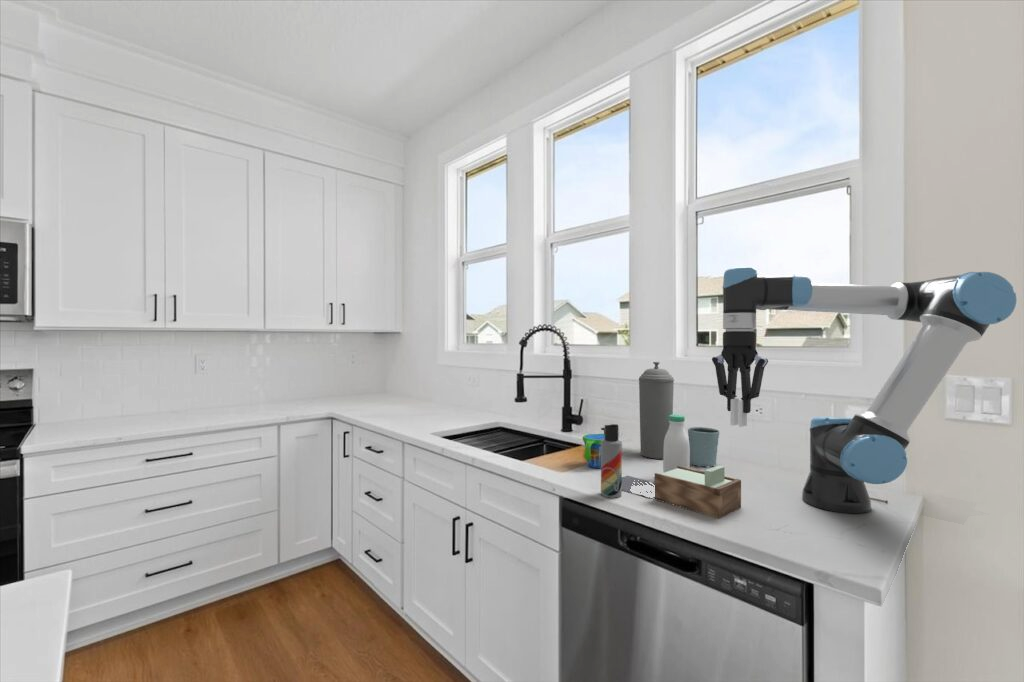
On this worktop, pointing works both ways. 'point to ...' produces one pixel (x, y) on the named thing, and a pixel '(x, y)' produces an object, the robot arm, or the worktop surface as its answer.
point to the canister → (655, 410)
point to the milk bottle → (676, 445)
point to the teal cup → (703, 446)
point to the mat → (629, 480)
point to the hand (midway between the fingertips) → (738, 425)
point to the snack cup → (593, 449)
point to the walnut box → (699, 494)
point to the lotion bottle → (611, 463)
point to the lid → (701, 476)
